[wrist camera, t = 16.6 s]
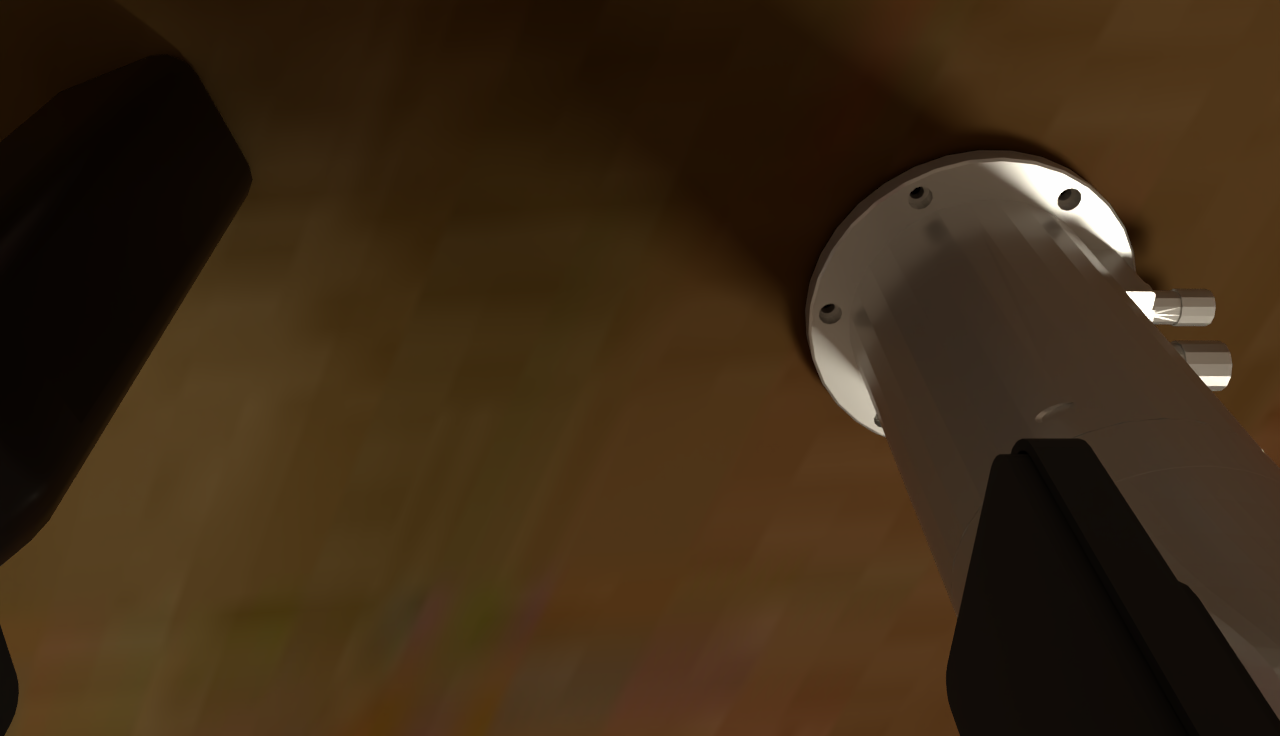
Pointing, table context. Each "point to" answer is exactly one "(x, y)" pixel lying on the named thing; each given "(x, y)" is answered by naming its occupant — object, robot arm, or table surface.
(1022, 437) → the robot arm
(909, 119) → the table surface
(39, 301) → the wine bottle
